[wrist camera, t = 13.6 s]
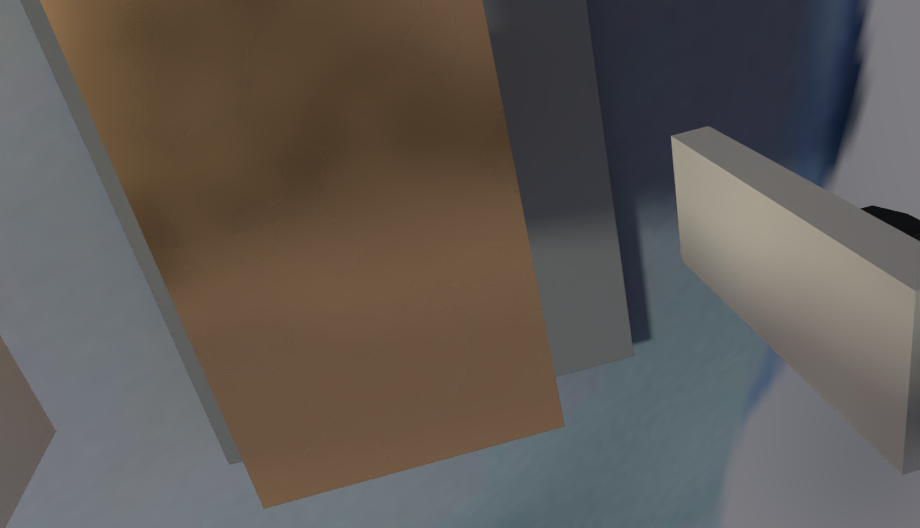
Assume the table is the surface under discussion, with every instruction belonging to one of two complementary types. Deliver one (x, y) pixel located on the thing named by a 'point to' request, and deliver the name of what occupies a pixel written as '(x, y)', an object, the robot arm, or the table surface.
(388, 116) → the wooden l-shaped block
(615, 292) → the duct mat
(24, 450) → the robot arm
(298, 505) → the table surface
